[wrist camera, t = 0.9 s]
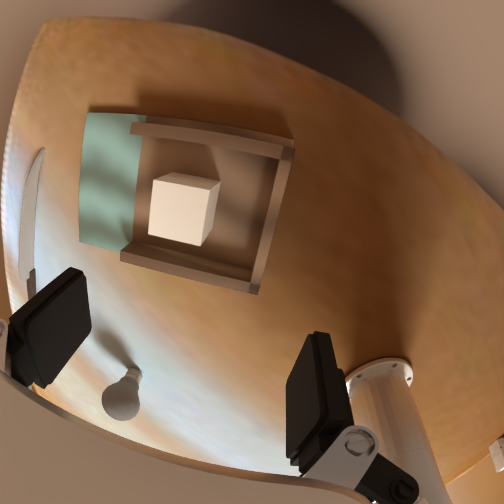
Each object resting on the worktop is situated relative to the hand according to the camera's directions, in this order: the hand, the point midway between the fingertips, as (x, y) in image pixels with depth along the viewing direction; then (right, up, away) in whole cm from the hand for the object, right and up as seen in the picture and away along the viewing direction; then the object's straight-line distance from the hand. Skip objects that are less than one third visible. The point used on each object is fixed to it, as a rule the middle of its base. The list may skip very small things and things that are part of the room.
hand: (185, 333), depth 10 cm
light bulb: (-17, -17, +30) cm, 38 cm away
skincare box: (+101, -74, +45) cm, 133 cm away
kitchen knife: (-31, +5, +23) cm, 38 cm away
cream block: (-4, +8, +18) cm, 20 cm away
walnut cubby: (-6, +9, +19) cm, 22 cm away
